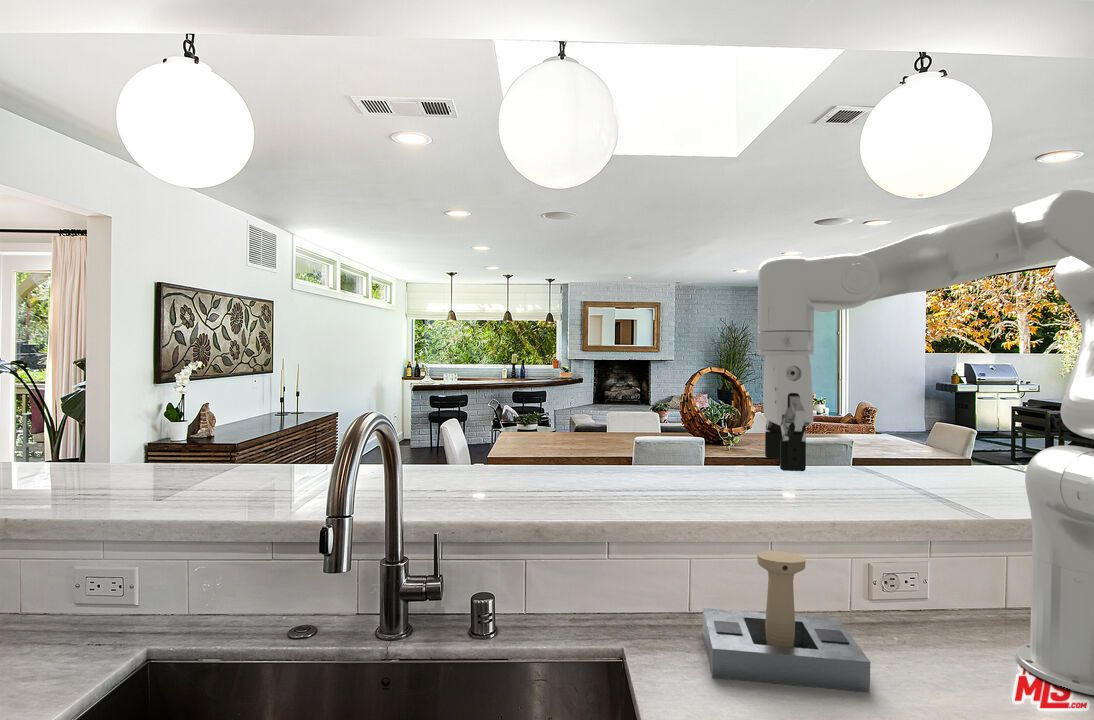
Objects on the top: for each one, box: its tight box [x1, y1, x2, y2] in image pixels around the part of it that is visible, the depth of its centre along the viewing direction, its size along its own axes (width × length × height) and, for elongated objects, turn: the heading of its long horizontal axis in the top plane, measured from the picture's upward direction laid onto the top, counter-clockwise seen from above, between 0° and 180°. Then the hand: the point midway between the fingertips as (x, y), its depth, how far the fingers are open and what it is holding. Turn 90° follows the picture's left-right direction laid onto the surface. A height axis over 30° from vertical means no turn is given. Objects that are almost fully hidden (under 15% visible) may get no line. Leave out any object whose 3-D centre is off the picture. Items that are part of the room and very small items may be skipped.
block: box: [702, 607, 871, 693], centre depth 86 cm, size 20×13×4 cm, turn 81°
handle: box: [756, 550, 806, 647], centre depth 86 cm, size 5×6×15 cm
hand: (784, 463), depth 86 cm, fingers open, 9 cm apart
